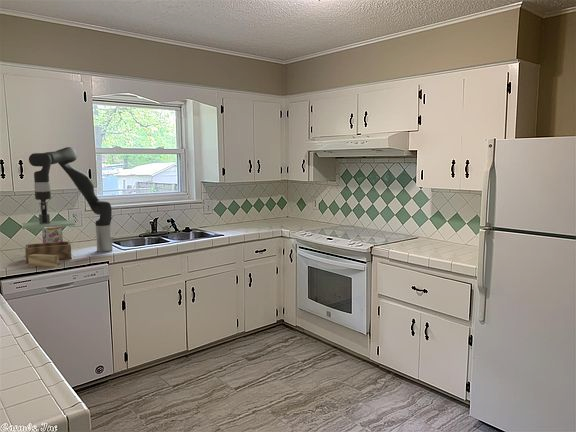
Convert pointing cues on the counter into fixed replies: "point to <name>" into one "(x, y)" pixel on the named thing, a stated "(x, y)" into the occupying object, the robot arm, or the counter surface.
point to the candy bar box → (52, 234)
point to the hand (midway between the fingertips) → (44, 222)
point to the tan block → (43, 260)
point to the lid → (47, 223)
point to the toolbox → (50, 249)
